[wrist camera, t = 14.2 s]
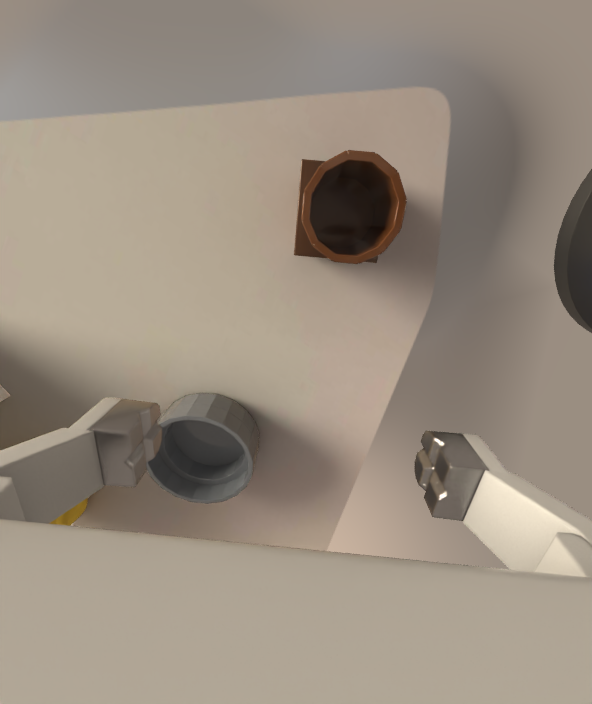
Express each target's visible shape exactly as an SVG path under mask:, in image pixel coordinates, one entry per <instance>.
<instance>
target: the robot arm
mask: <svg viewBox="0 0 592 704" xmlns="http://www.w3.org/2000/svg"><path fill="white" fill-rule="evenodd" d="M160 416H161V413H160V406H159V405H158V404H157V403H153V402H145V401H137V400H129V399H121V398H110V397H108V398H104V399H102V400H101V401H100V402H99V403H98V404H97V405H95V406H94V407H93V408H92V409H91V410H89V411H88V412H87V413H86V414H85V415H84V416H82V417H81V418H80V419H79V420H78V421H77V422H75V423H74V424H73V425H72V426H71V427H69V428H61V429H58V430H55V431H53V432H50V433H47V434H44V435H42V436H39V437H36V438H33V439H31V440H28V441H25V442H22V443H20V444H17V445H14V446H11V447H9V448H6V449H3V450H0V704H592V520H591V519H590V518H588V517H586V516H585V515H583V514H581V513H579V512H578V511H576V510H575V509H573V508H572V507H570V506H568V505H566V504H565V503H563V502H562V501H560V500H558V499H557V498H555V497H553V496H552V495H550V494H548V493H547V492H545V491H543V490H542V489H540V488H538V487H537V486H535V485H534V484H532V483H530V482H528V481H527V480H525V479H524V478H522V477H520V476H519V475H517V474H515V473H509V471H508V470H507V469H506V468H505V466H504V465H503V464H502V463H501V462H500V460H499V459H498V458H497V457H496V455H495V454H494V453H493V452H492V450H491V449H490V448H489V447H488V446H487V444H486V443H485V442H484V441H483V440H482V438H481V437H480V436H478V435H476V434H464V433H448V432H436V431H425V433H424V434H423V436H422V439H421V443H422V445H423V447H424V448H423V449H422V450H421V451H419V452H418V453H417V455H416V459H415V476H416V479H417V482H418V484H419V486H421V487H422V488H423V489H424V490H425V491H426V493H425V496H424V499H425V501H426V503H427V506H428V508H429V510H430V513H431V515H432V517H436V518H443V519H451V520H459V521H463V523H464V524H465V525H466V526H467V527H468V528H469V529H470V530H471V531H472V532H473V533H474V534H475V535H476V536H477V537H478V538H479V539H480V540H481V541H482V542H483V543H484V544H485V545H486V546H487V547H488V548H489V549H490V550H491V551H492V552H493V553H494V554H495V555H496V556H497V557H498V558H499V559H500V560H501V561H502V562H503V563H504V564H505V565H506V566H507V567H508V568H509V569H500V568H490V567H479V566H468V565H458V564H448V563H438V562H428V561H419V560H409V559H399V558H389V557H379V556H369V555H360V554H350V553H338V552H330V551H320V550H310V549H300V548H290V547H279V546H269V545H259V544H249V543H239V542H229V541H219V540H209V539H198V538H188V537H178V536H168V535H158V534H148V533H138V532H128V531H118V530H108V529H98V528H88V527H78V526H68V525H58V524H49V523H51V522H52V521H54V520H55V519H57V518H58V517H59V516H61V515H62V514H64V513H65V512H67V511H68V510H70V509H71V508H73V507H74V506H76V505H77V504H79V503H80V502H82V501H83V500H85V499H86V498H88V497H89V496H91V495H92V494H94V493H95V492H97V491H98V490H100V489H101V488H103V487H104V485H110V486H124V487H136V485H137V484H138V482H139V480H140V479H141V477H142V476H143V474H144V473H145V471H146V470H147V467H146V463H147V462H148V461H150V460H152V459H154V458H155V456H156V454H157V453H158V451H159V448H160V445H161V442H162V427H161V426H160V425H159V423H158V422H157V420H158V418H159V417H160Z"/></svg>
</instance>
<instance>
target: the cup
mask: <svg viewBox="0 0 592 704" xmlns="http://www.w3.org/2000/svg"><path fill="white" fill-rule="evenodd" d="M405 200H407V199H406V195H405V192H404V189H403V185H402V182H401V179H400V176H399V173H398V172H397V170H396V169H395V168H394V167H392V166H391V165H390V164H389V163H388V162H387V161H385V160H384V159H383V158H382V157H381V156H380V155H378V154H375V152H364V151H353V150H348V151H344V152H342V153H341V154H339V155H337V156H335V157H333V158H331V159H329V160H328V161H326V162H324V163H322V164H321V165H320V166H319V167H318V169H317V171H316V172H315V174H314V175H313V177H312V179H311V180H310V182H309V183H308V185H307V187H306V188H305V192H304V195H303V207H302V220H303V221H302V223H303V226H304V228H305V231H306V233H307V235H308V238H309V240H310V242H311V245H313V247H314V248H315V249H317V250H318V251H319V252H321V253H322V254H323V255H325V256H326V257H327V258H329V259H330V260H331V261H334V262H340V263H351V264H358V263H359V264H360V263H362V262H364V261H367V260H369V259H371V258H373V257H375V256H377V255H380V254H382V252H384V251H385V250H386V249H387V247H388V246H389V245H390V243H391V242H392V241H393V240H394V238H395V237H396V236H397V234H398V233H399V232H400V229H401V227H402V222H403V217H404V213H405V208H406V203H407V201H405Z"/></svg>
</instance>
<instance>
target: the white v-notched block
mask: <svg viewBox="0 0 592 704" xmlns="http://www.w3.org/2000/svg"><path fill="white" fill-rule="evenodd" d="M9 396H11V395H10V394H9V393H8V392H7V391H6V390H5V389H4V388H3V387H2V386H1V385H0V402H1V401H2V400H4V399H6V398H8V397H9Z"/></svg>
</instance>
